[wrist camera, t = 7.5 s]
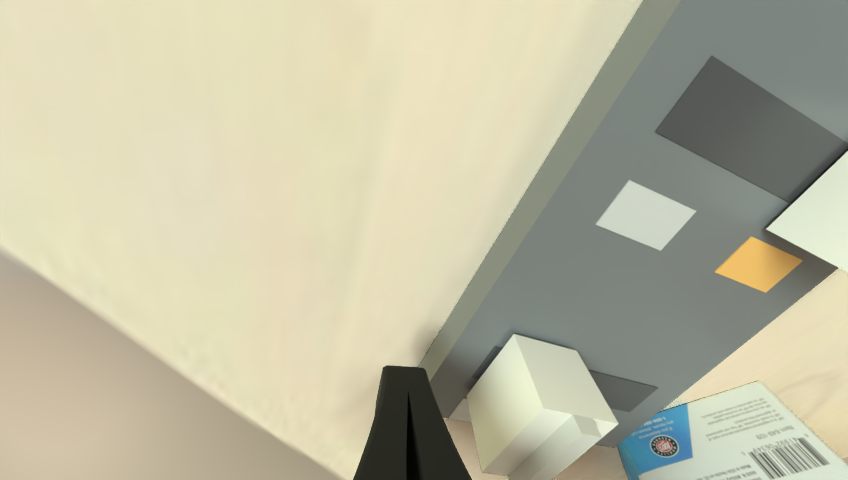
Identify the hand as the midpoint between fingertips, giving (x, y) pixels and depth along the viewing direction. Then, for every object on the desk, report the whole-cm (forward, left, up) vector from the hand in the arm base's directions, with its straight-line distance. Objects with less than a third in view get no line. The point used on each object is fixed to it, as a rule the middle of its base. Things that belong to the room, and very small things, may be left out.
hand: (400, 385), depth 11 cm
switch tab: (0, +5, -2) cm, 6 cm away
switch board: (-6, +8, -3) cm, 10 cm away
